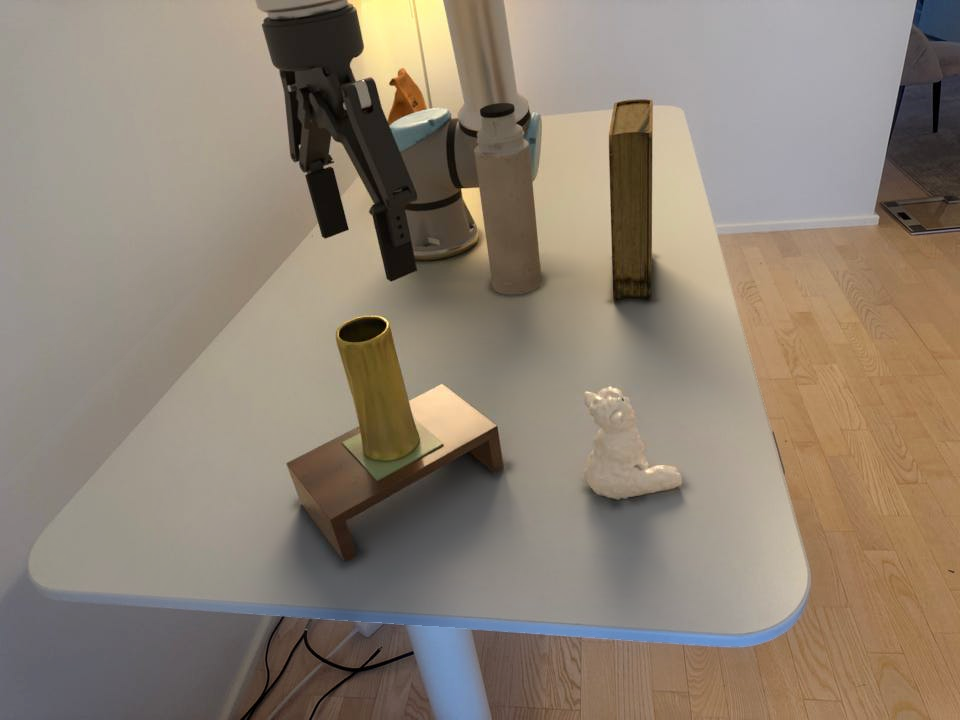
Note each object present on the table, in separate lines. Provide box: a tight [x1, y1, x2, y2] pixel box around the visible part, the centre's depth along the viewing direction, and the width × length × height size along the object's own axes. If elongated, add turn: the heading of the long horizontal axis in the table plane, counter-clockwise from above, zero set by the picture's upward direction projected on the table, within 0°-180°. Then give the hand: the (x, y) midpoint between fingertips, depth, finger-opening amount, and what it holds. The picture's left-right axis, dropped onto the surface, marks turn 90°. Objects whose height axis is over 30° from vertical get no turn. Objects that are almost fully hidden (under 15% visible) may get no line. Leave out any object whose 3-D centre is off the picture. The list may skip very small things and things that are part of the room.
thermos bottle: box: [474, 103, 542, 296], centre depth 108 cm, size 8×8×28 cm
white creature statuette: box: [583, 385, 683, 501], centre depth 72 cm, size 10×9×12 cm
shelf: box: [286, 383, 505, 563], centre depth 78 cm, size 11×20×6 cm, turn 126°
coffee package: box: [387, 67, 428, 126], centre depth 163 cm, size 10×12×22 cm
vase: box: [335, 315, 419, 461], centre depth 72 cm, size 6×6×14 cm
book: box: [608, 98, 654, 301], centre depth 106 cm, size 16×6×25 cm, turn 168°
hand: (366, 253), depth 68 cm, fingers open, 13 cm apart
